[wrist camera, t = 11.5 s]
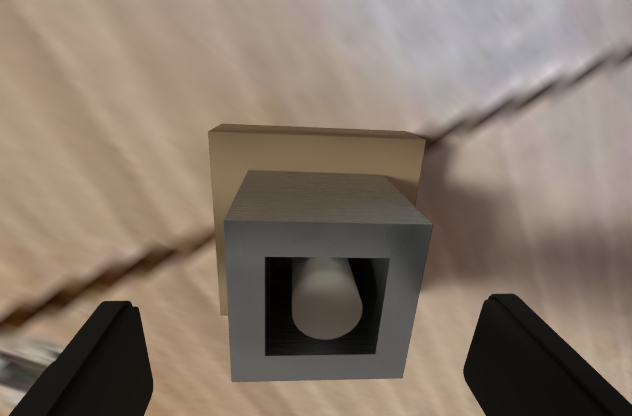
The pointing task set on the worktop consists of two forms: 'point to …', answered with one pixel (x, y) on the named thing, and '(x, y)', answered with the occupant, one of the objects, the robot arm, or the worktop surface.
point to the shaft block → (310, 156)
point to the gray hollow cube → (321, 241)
